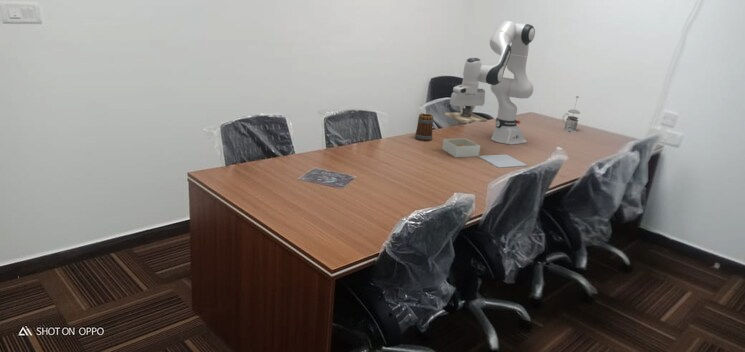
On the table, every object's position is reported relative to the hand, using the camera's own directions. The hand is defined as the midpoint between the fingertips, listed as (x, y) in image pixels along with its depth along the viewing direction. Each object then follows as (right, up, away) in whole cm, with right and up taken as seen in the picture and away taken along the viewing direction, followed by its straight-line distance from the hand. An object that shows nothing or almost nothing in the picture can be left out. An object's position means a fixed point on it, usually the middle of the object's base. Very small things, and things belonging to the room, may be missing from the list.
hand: (465, 113), depth 276 cm
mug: (-20, -11, +32) cm, 39 cm away
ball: (-2, -18, +7) cm, 20 cm away
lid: (0, -2, +1) cm, 3 cm away
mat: (+20, -26, -2) cm, 33 cm away
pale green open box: (-2, -21, +8) cm, 23 cm away
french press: (+89, -2, +82) cm, 121 cm away
